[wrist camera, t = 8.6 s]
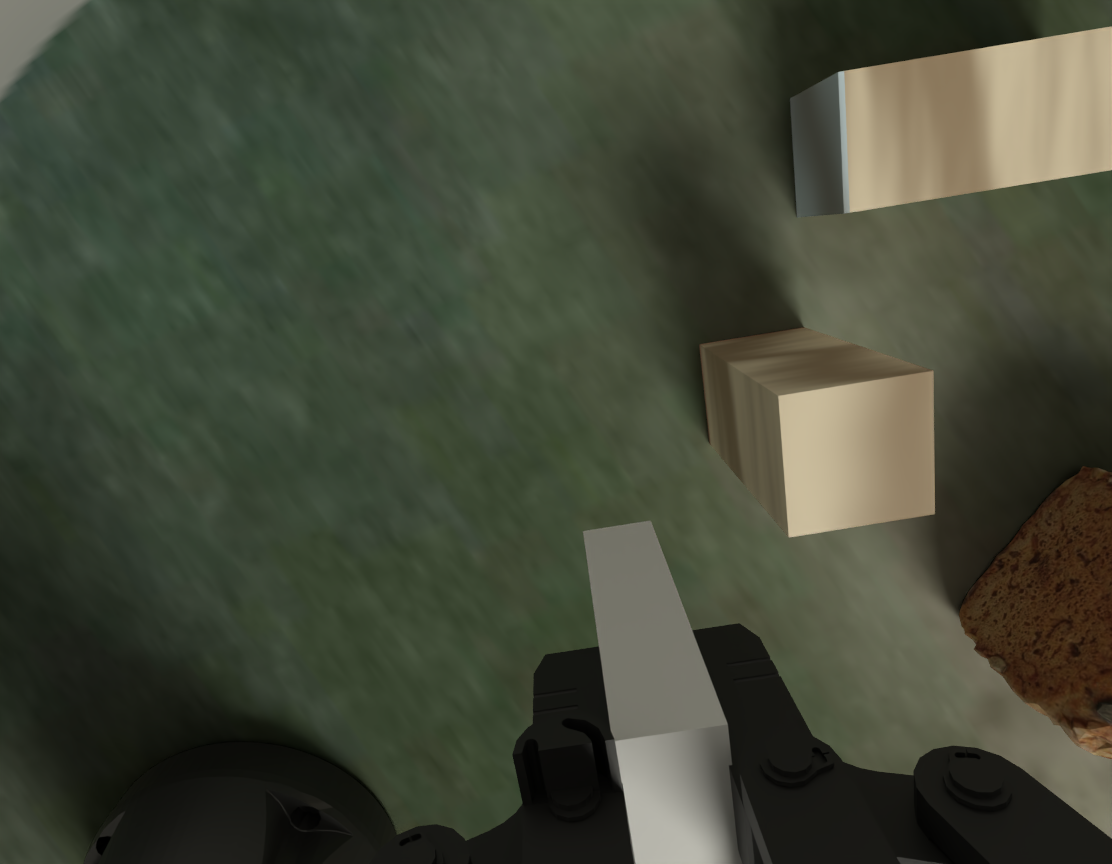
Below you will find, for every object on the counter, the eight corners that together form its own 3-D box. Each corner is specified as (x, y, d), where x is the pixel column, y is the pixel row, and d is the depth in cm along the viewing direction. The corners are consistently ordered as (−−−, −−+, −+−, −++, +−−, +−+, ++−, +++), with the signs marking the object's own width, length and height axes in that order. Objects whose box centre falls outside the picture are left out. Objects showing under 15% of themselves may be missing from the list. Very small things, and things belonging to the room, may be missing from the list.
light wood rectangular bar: (844, 213, 24) (1132, 166, 24) (837, 71, 23) (1141, 21, 23) (796, 217, 28) (1040, 177, 28) (789, 98, 27) (1044, 56, 27)
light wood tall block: (709, 443, 31) (788, 537, 21) (699, 344, 30) (777, 395, 20) (809, 427, 31) (935, 514, 21) (803, 327, 30) (933, 370, 20)
